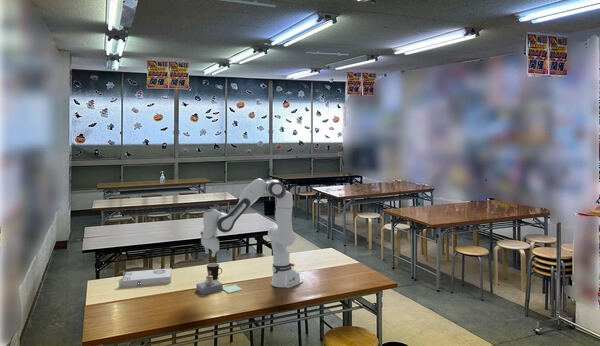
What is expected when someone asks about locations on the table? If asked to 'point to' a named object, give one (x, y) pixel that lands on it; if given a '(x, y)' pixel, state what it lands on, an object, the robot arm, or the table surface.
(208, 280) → the plug
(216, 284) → the gray rectangular block
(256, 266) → the table surface
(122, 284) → the power supply unit
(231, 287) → the mat
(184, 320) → the table surface
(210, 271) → the coffee mug
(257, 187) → the robot arm
